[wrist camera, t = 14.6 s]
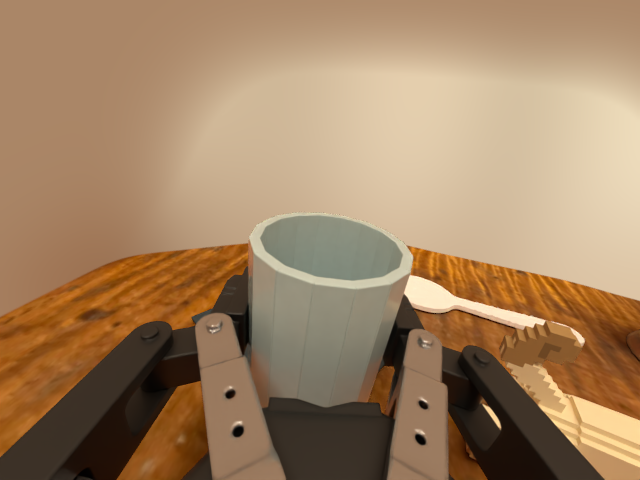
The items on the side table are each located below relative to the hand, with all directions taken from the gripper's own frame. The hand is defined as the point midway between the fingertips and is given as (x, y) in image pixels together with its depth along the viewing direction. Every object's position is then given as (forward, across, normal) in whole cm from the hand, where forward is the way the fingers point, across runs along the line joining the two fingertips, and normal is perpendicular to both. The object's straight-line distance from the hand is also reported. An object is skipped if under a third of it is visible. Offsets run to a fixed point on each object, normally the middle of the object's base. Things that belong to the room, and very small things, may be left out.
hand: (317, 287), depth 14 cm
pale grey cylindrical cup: (-2, 0, +6) cm, 6 cm away
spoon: (+8, -16, +7) cm, 19 cm away
